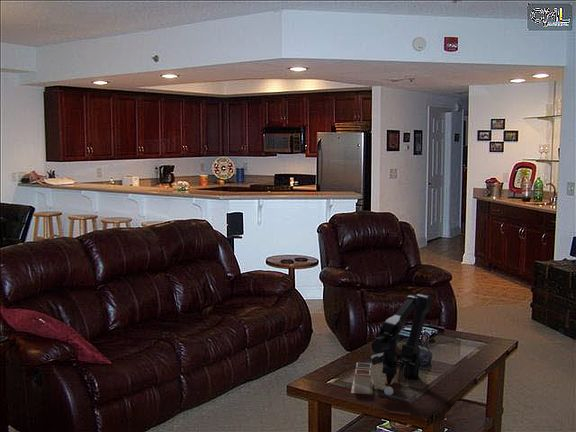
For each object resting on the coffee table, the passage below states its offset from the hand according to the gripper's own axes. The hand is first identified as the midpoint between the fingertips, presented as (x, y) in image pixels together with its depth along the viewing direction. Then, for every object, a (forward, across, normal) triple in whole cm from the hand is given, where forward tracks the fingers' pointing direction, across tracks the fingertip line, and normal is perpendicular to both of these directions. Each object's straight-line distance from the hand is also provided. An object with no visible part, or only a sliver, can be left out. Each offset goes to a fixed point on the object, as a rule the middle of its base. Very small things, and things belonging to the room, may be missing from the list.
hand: (388, 382), depth 294 cm
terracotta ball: (+1, 0, 0) cm, 1 cm away
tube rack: (+1, +6, -12) cm, 13 cm away
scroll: (+1, -46, 0) cm, 46 cm away
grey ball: (+1, +13, 0) cm, 13 cm away
